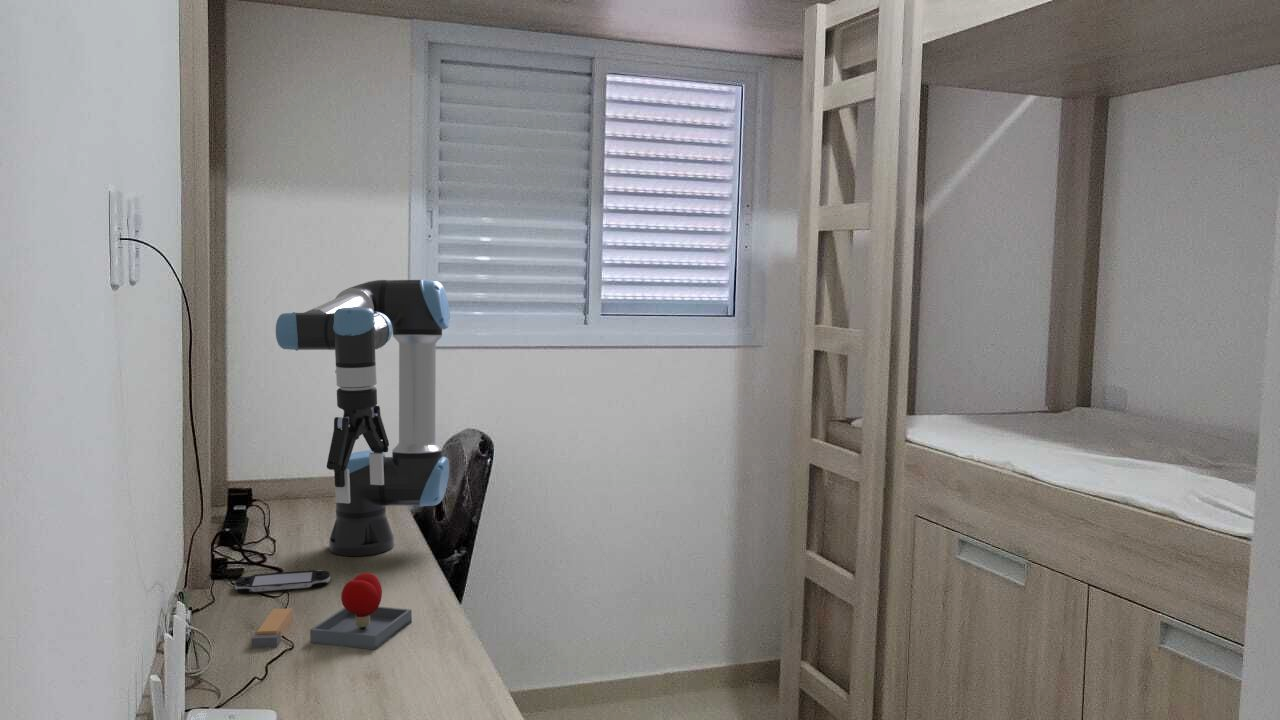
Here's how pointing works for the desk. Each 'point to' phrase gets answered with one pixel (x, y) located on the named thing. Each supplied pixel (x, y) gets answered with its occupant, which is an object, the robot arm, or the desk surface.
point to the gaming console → (282, 581)
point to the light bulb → (362, 597)
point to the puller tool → (272, 629)
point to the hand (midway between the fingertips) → (360, 493)
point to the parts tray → (346, 633)
